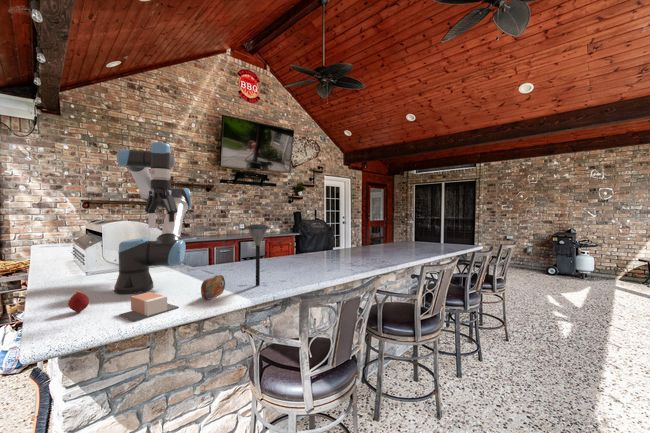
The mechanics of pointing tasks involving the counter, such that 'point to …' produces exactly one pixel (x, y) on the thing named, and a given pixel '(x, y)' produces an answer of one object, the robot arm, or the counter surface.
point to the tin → (212, 287)
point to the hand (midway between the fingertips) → (160, 229)
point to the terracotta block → (148, 303)
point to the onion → (78, 302)
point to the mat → (138, 316)
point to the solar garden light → (257, 244)
